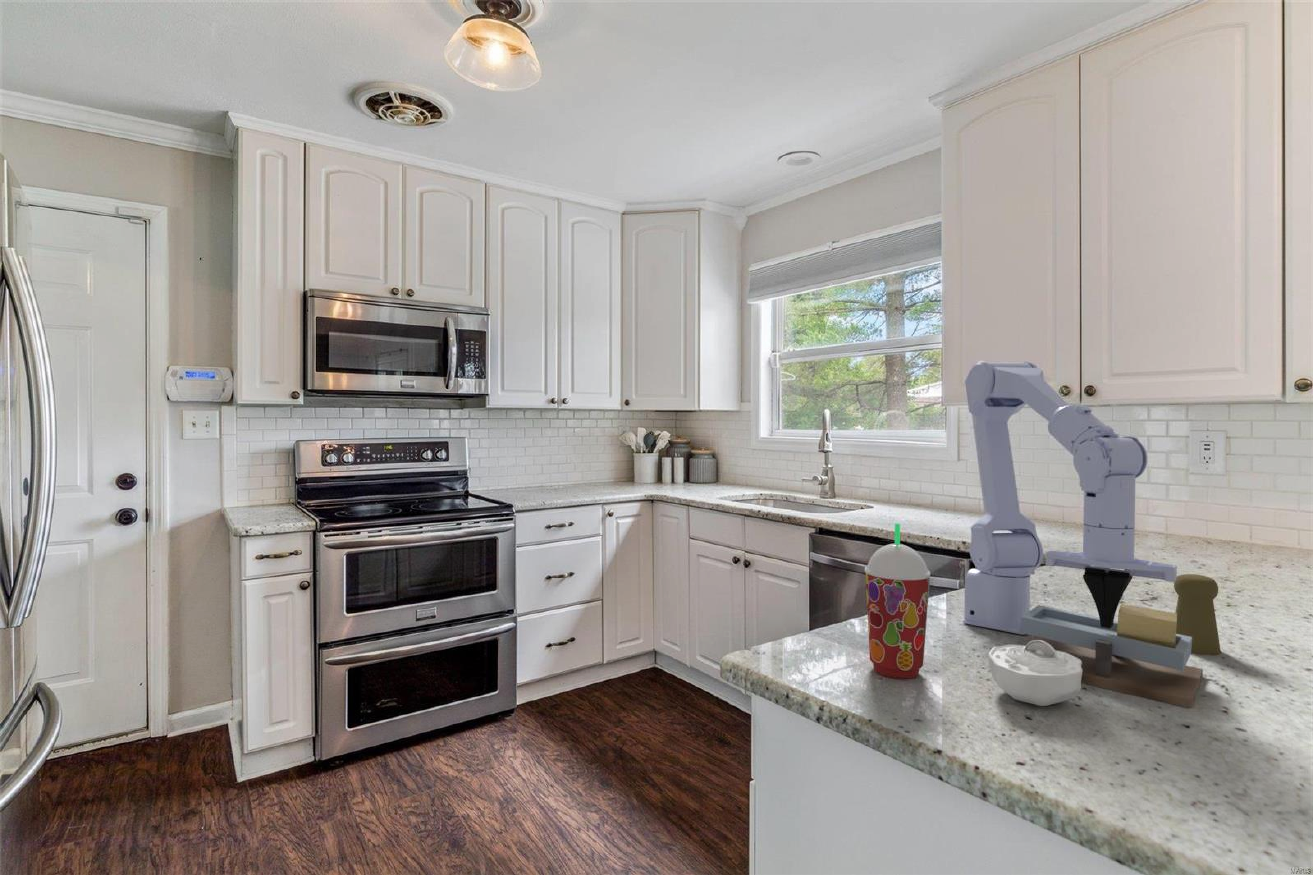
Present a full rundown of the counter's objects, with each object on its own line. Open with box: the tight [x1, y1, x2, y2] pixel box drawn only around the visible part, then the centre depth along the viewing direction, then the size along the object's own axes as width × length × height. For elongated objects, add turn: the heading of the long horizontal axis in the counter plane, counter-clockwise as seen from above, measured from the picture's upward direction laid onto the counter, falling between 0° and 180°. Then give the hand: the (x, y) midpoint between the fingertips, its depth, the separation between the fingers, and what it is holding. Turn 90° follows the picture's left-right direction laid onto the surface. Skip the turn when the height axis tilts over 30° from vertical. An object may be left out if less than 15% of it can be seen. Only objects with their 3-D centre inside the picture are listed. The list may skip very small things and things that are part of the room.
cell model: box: [988, 640, 1083, 707], centre depth 80 cm, size 10×12×7 cm
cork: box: [1173, 573, 1222, 656], centre depth 99 cm, size 6×6×11 cm
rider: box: [1117, 603, 1177, 649], centre depth 87 cm, size 6×5×4 cm
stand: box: [1023, 636, 1204, 709], centre depth 90 cm, size 20×14×5 cm
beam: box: [1020, 604, 1192, 671], centre depth 90 cm, size 18×9×2 cm, turn 46°
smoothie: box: [864, 523, 931, 680], centre depth 89 cm, size 8×8×20 cm
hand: (1107, 626), depth 90 cm, fingers closed
